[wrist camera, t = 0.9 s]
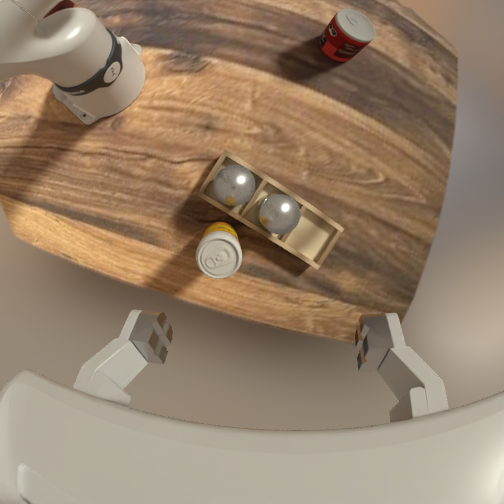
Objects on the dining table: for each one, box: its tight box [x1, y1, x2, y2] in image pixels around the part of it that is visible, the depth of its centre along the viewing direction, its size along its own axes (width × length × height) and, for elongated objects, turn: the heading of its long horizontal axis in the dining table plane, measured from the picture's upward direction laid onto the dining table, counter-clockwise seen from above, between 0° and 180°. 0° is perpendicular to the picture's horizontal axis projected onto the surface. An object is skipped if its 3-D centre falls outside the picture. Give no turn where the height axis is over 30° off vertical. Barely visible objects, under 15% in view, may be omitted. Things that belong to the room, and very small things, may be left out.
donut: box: [43, 0, 76, 19], centre depth 31 cm, size 10×10×4 cm
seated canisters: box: [213, 165, 300, 235], centre depth 43 cm, size 14×6×7 cm, turn 58°
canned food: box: [319, 9, 376, 62], centre depth 37 cm, size 8×8×11 cm
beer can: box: [196, 222, 242, 279], centre depth 42 cm, size 6×6×15 cm
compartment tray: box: [197, 150, 344, 270], centre depth 47 cm, size 25×9×4 cm, turn 58°
